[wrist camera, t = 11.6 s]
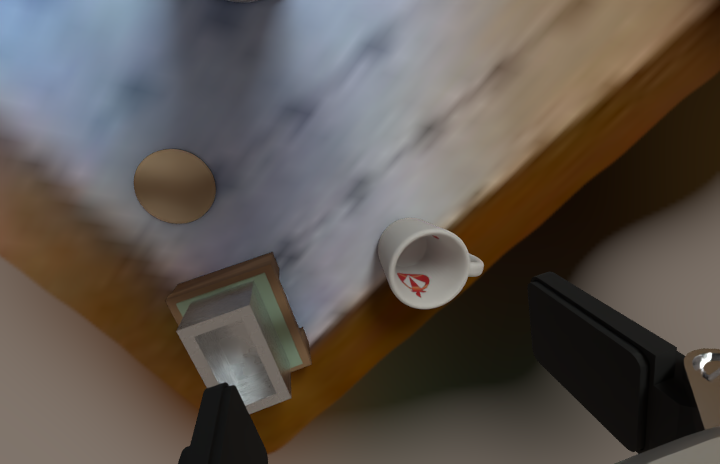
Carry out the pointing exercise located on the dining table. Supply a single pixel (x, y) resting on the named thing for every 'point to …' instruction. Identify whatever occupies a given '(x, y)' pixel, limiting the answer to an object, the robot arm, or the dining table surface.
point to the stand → (271, 292)
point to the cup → (425, 263)
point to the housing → (237, 346)
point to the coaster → (174, 186)
